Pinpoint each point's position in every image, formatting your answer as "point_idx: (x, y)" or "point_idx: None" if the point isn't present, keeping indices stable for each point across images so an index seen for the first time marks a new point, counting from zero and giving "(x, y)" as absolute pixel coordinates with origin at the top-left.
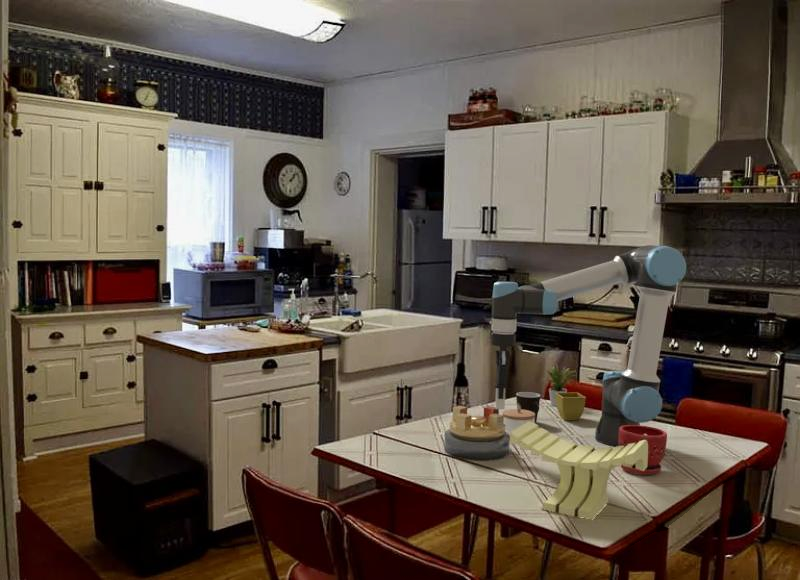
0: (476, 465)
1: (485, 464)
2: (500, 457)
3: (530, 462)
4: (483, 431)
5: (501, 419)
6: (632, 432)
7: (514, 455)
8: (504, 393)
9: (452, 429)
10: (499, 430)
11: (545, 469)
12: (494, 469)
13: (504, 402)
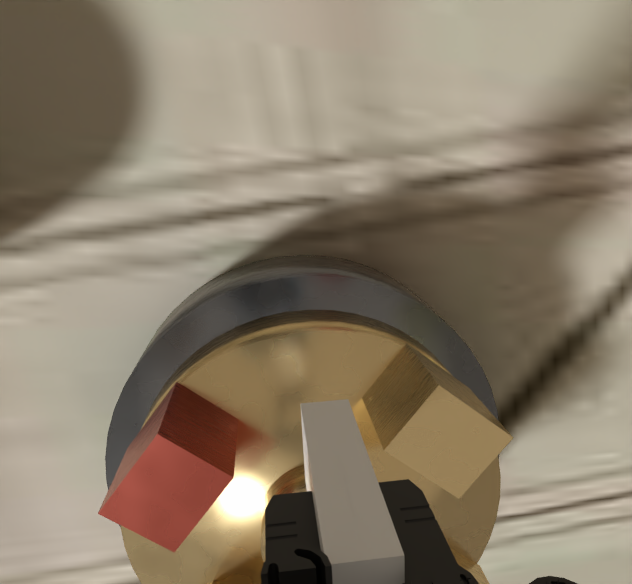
0: (533, 405)
1: (516, 368)
2: (424, 303)
3: (466, 145)
4: (494, 464)
5: (453, 390)
6: None
7: (353, 227)
8: (384, 510)
9: None
10: (441, 367)
11: (578, 69)
12: (586, 327)
13: (360, 437)
